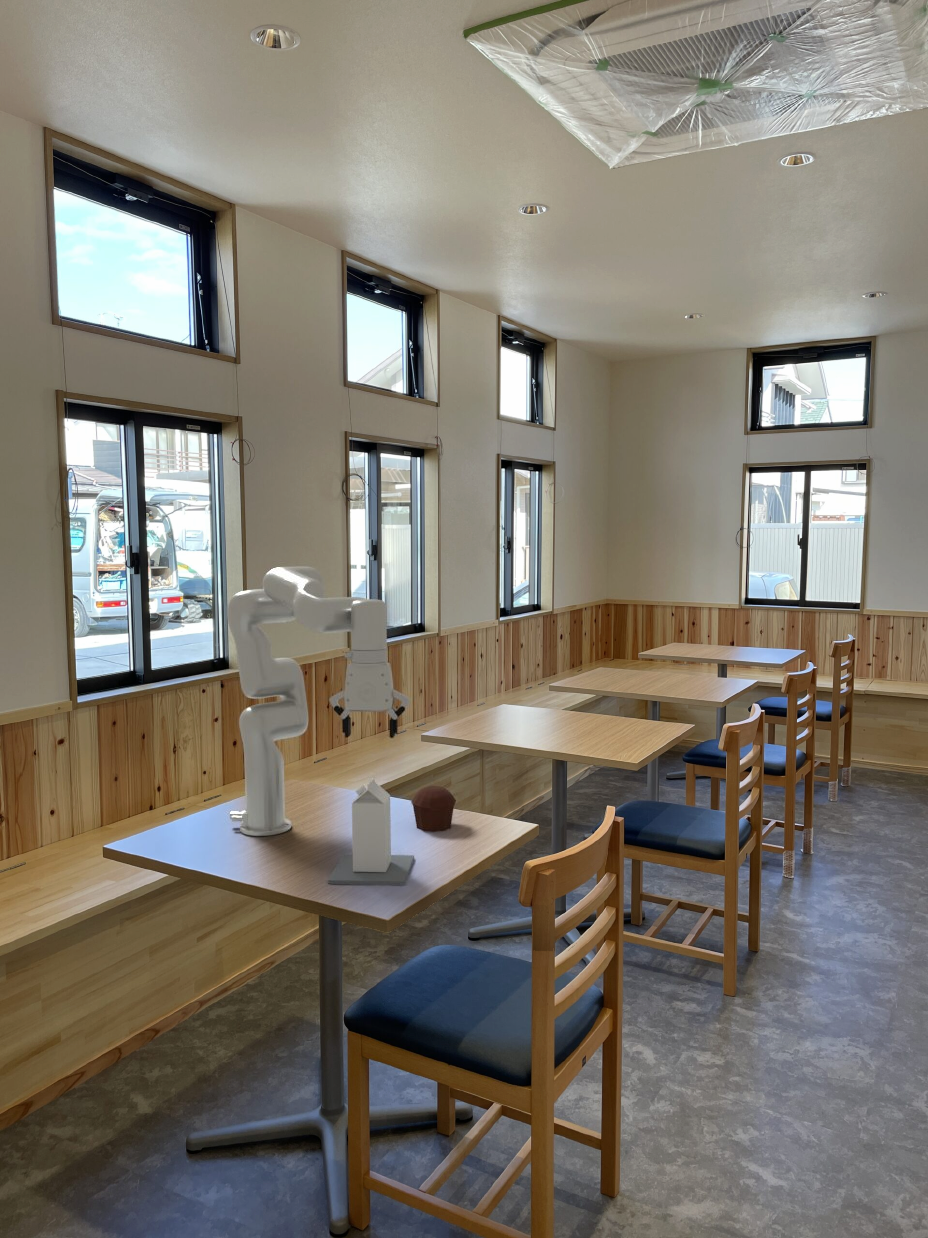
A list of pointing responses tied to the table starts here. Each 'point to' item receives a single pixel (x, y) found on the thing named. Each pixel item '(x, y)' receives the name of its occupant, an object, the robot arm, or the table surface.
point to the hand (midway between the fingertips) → (370, 736)
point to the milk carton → (371, 829)
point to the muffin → (433, 808)
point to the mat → (392, 876)
